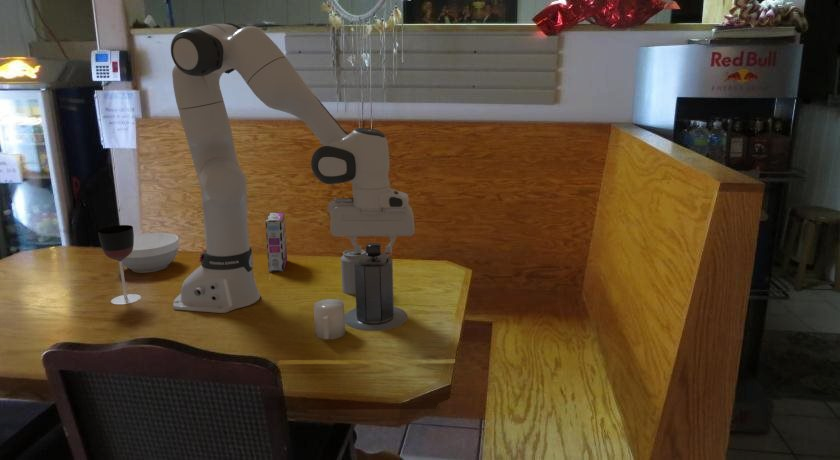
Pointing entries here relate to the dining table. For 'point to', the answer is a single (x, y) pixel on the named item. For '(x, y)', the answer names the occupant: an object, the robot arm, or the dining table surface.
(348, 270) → the can
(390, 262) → the carafe
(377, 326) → the coaster
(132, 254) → the bowl
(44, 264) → the dining table surface
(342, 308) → the white rounded cylinder
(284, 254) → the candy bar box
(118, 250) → the wineglass
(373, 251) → the plunger
